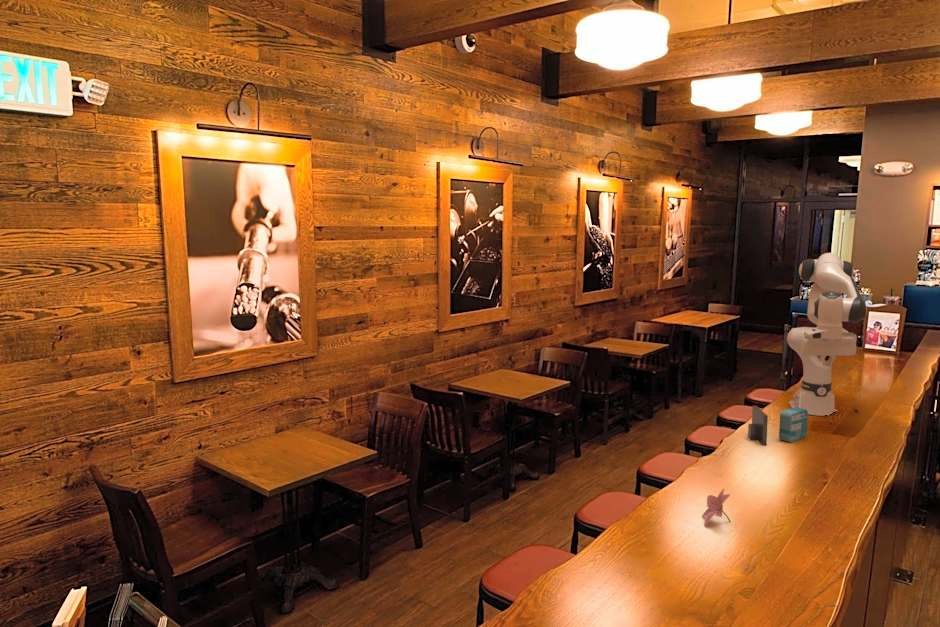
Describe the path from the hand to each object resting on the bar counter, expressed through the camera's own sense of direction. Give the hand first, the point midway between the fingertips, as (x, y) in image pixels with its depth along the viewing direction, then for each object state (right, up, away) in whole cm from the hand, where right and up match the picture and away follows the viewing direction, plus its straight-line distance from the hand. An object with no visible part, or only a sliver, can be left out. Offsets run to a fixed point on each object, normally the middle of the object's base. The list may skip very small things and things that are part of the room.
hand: (827, 365), depth 253 cm
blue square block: (-15, -30, -1) cm, 33 cm away
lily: (-72, -41, -69) cm, 108 cm away
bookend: (-30, -30, -1) cm, 42 cm away
